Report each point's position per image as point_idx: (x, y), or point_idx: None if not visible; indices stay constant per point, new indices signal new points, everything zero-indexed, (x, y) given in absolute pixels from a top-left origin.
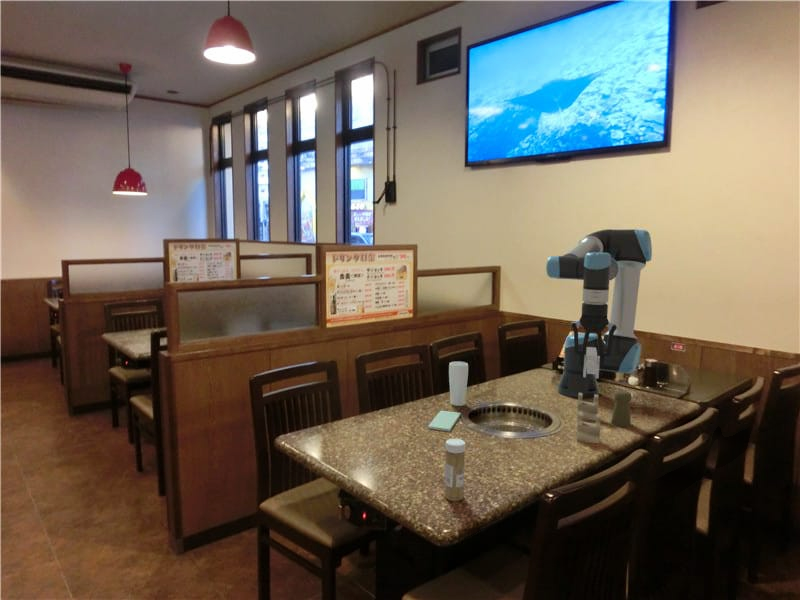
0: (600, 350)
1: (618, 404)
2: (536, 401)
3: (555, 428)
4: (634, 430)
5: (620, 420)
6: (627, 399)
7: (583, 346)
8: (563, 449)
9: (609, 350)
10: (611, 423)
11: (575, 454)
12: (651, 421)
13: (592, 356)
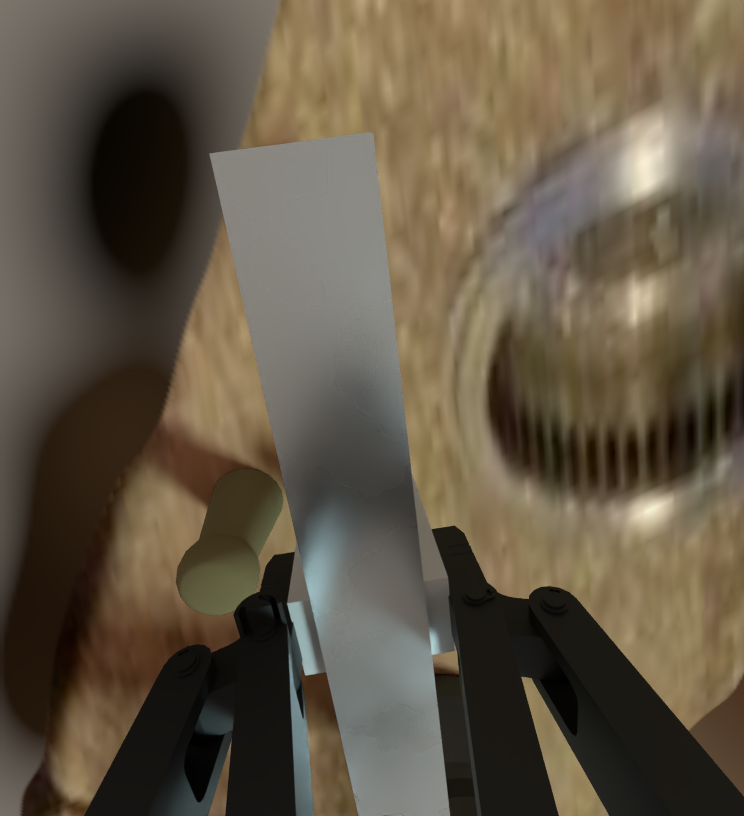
0: (271, 691)
1: (239, 529)
2: (559, 581)
3: (467, 331)
4: (191, 458)
5: (240, 483)
6: (191, 547)
7: (508, 691)
8: (409, 86)
9: (150, 721)
10: (279, 487)
11: (354, 46)
12: (156, 576)
13: (362, 586)
